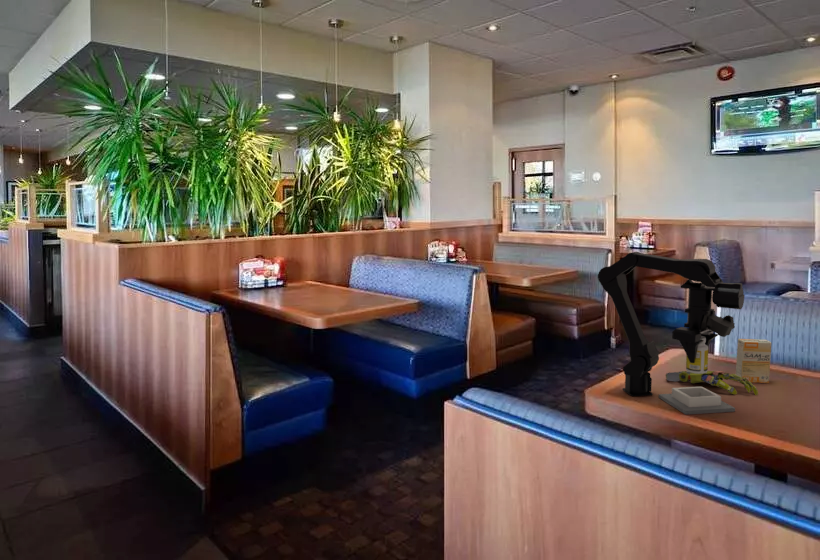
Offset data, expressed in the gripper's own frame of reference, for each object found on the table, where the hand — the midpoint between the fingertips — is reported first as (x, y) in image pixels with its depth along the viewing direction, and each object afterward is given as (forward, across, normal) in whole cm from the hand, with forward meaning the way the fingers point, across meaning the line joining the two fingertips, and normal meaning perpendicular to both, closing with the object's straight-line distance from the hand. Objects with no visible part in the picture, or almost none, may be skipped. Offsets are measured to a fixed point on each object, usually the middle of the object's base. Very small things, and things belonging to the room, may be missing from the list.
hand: (696, 360), depth 165 cm
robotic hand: (+13, +19, +4) cm, 23 cm away
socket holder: (+12, 0, 0) cm, 13 cm away
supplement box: (+13, +34, -3) cm, 36 cm away
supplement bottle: (+3, 0, 0) cm, 3 cm away
